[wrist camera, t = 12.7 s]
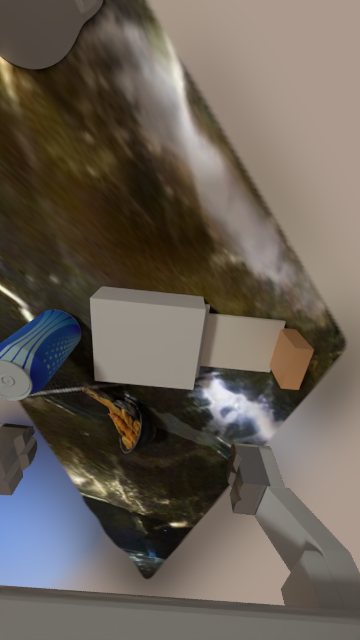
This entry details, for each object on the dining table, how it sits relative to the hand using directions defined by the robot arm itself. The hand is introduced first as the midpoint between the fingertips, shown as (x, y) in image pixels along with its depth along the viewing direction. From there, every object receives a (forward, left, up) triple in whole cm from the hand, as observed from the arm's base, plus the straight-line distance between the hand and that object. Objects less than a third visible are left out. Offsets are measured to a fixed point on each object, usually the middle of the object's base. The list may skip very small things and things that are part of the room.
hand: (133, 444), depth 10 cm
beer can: (+14, -20, -34) cm, 42 cm away
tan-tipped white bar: (+13, +12, -33) cm, 37 cm away
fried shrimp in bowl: (+32, -8, -34) cm, 48 cm away
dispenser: (+13, -3, -34) cm, 37 cm away
